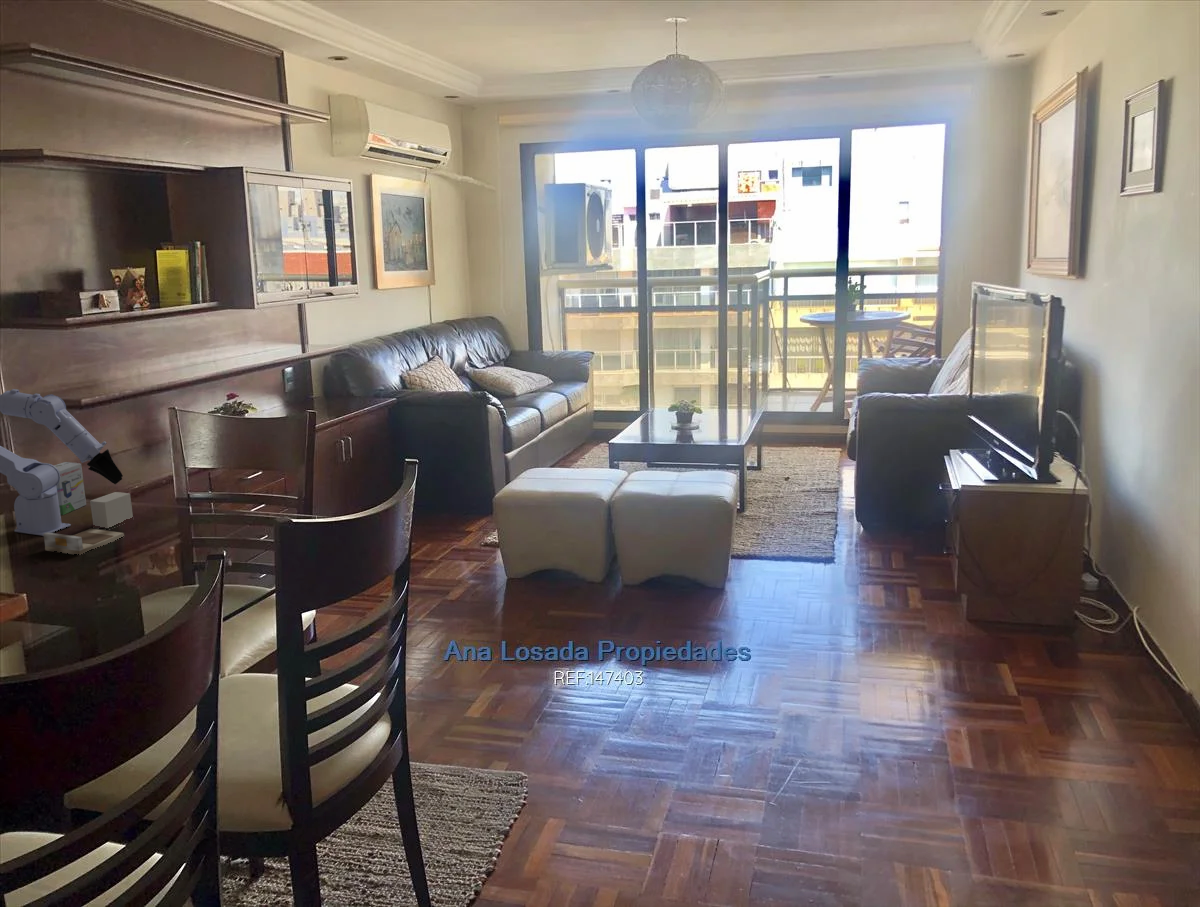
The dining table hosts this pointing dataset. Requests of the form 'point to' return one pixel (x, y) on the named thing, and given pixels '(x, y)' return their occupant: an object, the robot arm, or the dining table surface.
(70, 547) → the cream tray
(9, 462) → the robot arm
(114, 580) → the dining table surface
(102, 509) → the carton
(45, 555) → the dining table surface
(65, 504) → the ink box
